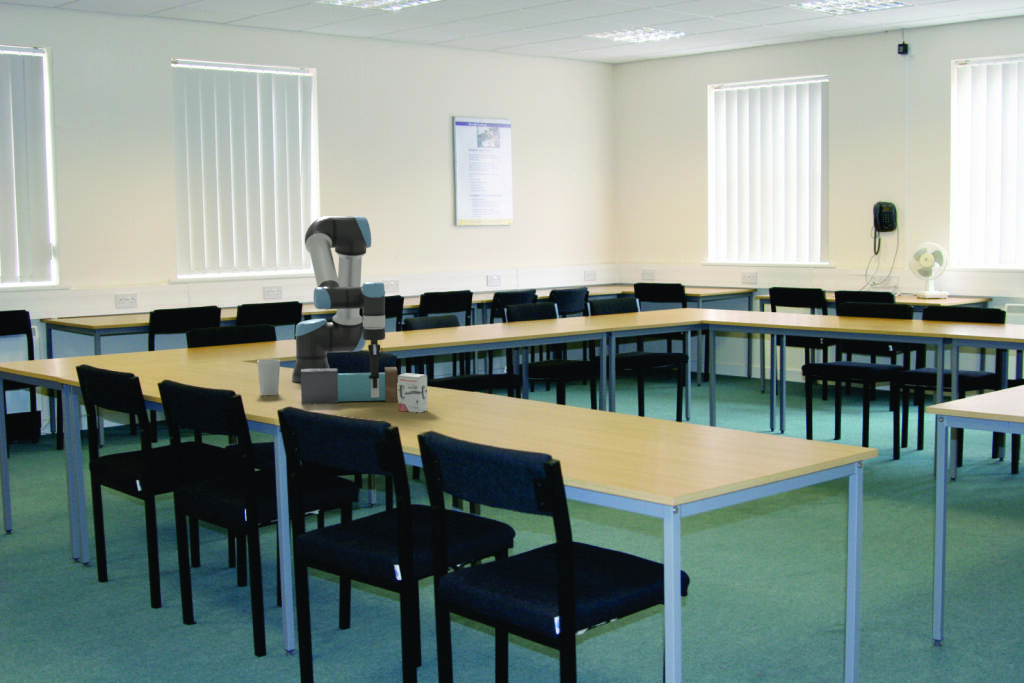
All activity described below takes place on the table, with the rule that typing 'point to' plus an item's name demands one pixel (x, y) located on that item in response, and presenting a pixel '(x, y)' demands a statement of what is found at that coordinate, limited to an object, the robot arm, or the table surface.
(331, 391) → the dark gray box
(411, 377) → the ink box
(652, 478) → the table surface
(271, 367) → the cup
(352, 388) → the teal rectangular box
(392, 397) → the socket
